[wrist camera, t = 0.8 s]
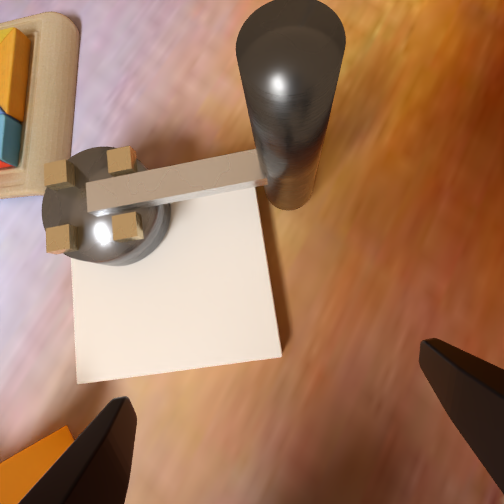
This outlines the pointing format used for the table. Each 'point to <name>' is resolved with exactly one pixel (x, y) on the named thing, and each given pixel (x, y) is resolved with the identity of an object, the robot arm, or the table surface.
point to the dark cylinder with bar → (216, 168)
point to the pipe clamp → (31, 465)
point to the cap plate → (180, 297)
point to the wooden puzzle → (35, 99)
